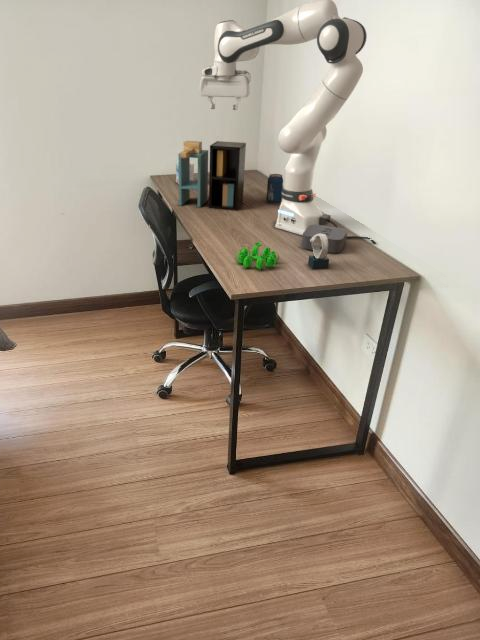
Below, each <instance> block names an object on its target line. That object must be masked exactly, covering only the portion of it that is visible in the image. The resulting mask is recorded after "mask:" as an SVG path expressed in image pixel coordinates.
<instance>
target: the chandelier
mask: <svg viewBox="0 0 480 640" xmlns="http://www.w3.org/2000/svg"><path fill="white" fill-rule="evenodd" d="M260 247H262V243H261V242H255V243H254V246H253V247H252V249H251V251H250V250H249V248H247V247H241V248H240V249H239V251H238V252H237V253H236V254H235V257H234V259H235V262H236V263H237V264H239V265H243V268H245V269H249V268H250V267H251V266H252V264H253V261H254V260H256V263H255V264H256V267H255V268H256V269H258V271H261V270H262V269H263V268H264V264H265V266H266V267H267V268H270V269H271V268H274V267H275V266H276V265H277V263H278V261H279V259H280V254H279V253H278V252H277V251H275V250H271V248H270V247H268V246H266V247H265V248H264V249H263V251H262V254H261V255H259V248H260ZM237 256H238V258H237ZM237 259H238V260H237Z"/></svg>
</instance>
